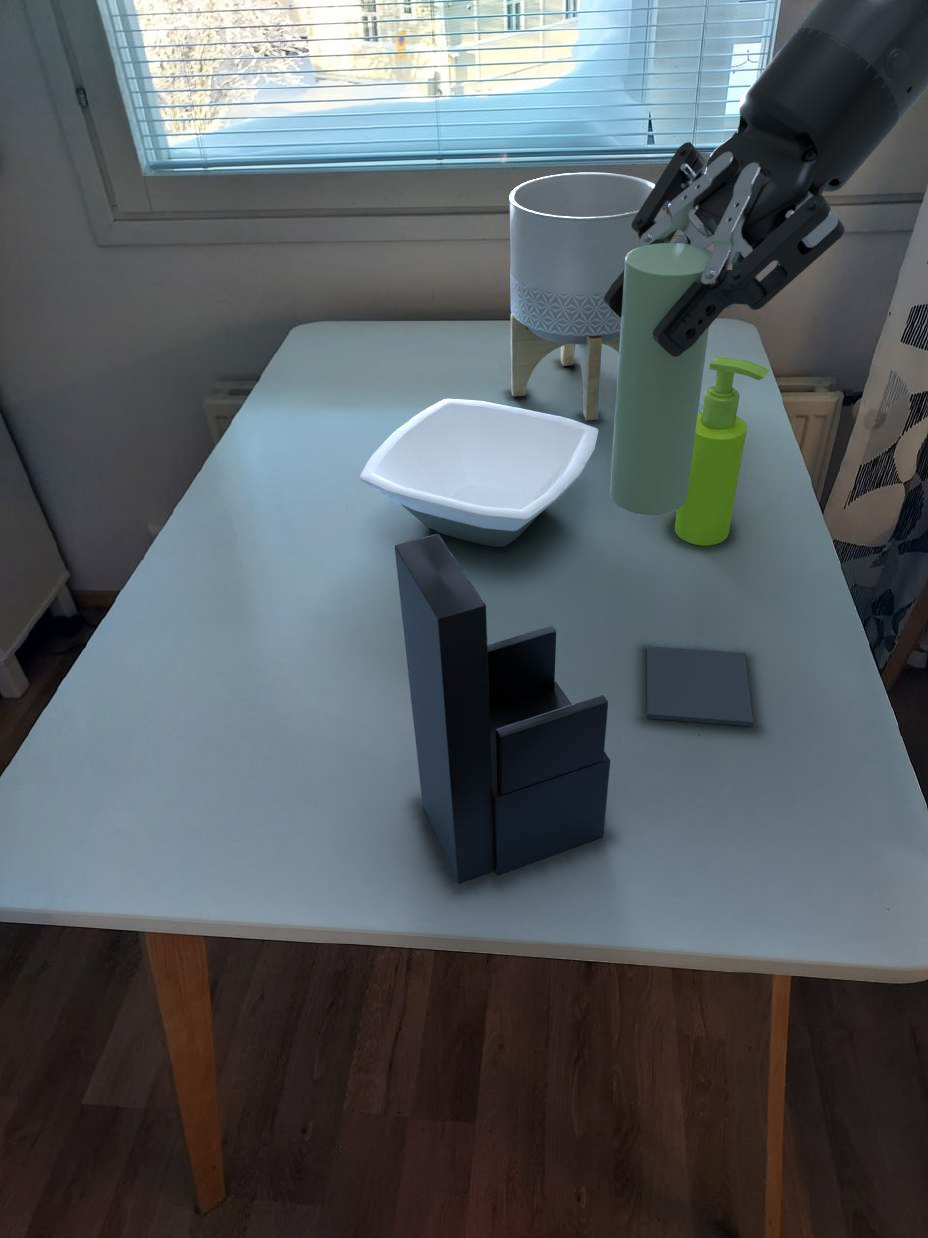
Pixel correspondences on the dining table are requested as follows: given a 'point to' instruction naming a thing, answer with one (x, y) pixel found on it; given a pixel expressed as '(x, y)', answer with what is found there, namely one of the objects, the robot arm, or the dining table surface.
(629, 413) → the green cylinder
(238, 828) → the dining table surface
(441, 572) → the navy chair block
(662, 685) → the coaster
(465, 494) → the bowl
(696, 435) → the soap dispenser
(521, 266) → the planter
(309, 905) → the dining table surface
